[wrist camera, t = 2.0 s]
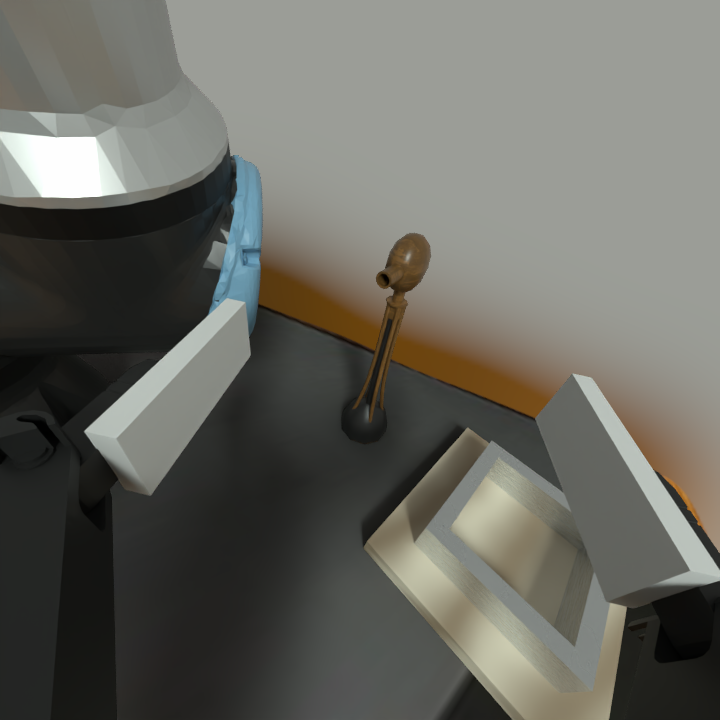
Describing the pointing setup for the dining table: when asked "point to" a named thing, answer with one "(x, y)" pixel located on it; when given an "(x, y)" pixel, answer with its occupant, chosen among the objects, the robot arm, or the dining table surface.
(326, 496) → the dining table surface
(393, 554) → the stand
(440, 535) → the collar
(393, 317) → the wooden tabletop sculpture
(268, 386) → the dining table surface
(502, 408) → the dining table surface
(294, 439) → the dining table surface
